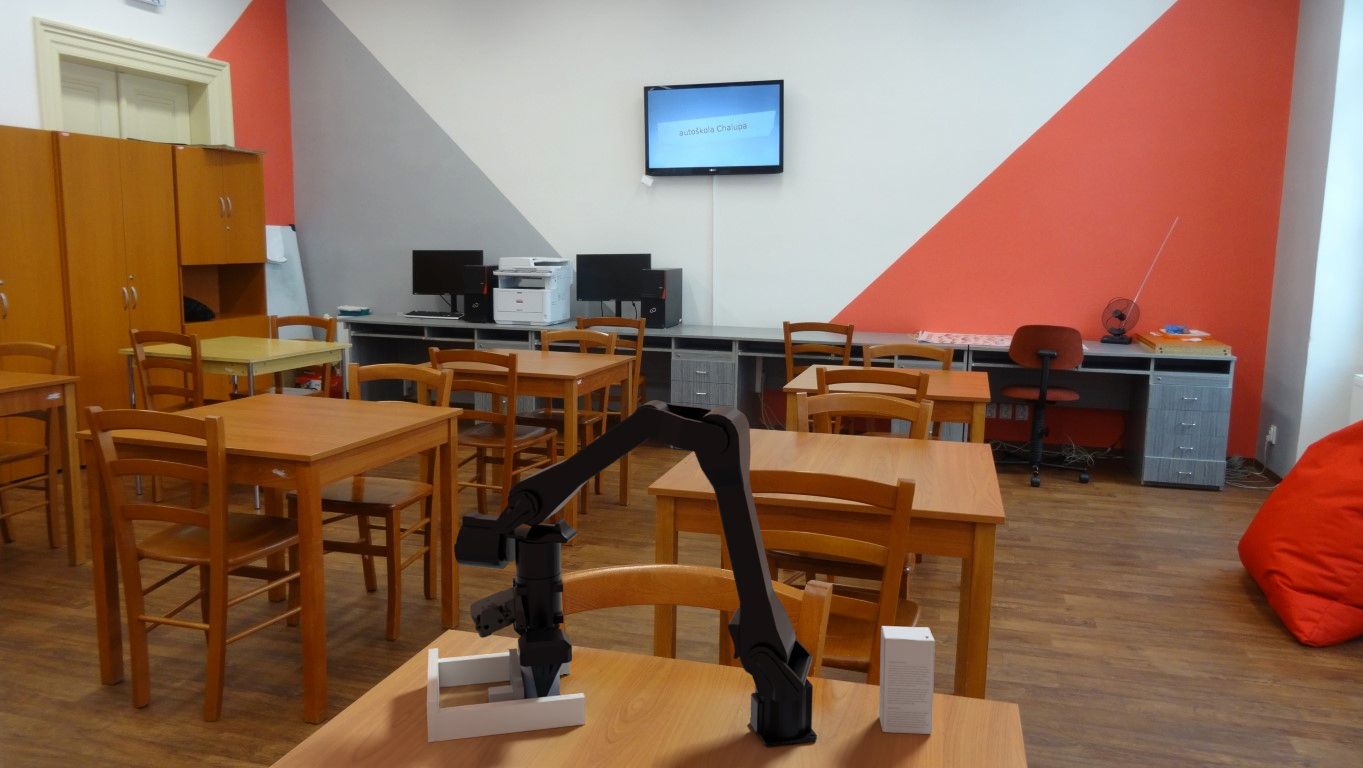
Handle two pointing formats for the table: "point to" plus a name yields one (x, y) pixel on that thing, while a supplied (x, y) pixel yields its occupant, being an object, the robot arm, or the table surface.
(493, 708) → the lane
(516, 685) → the pusher
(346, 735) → the table surface
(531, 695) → the jar
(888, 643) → the skincare box
